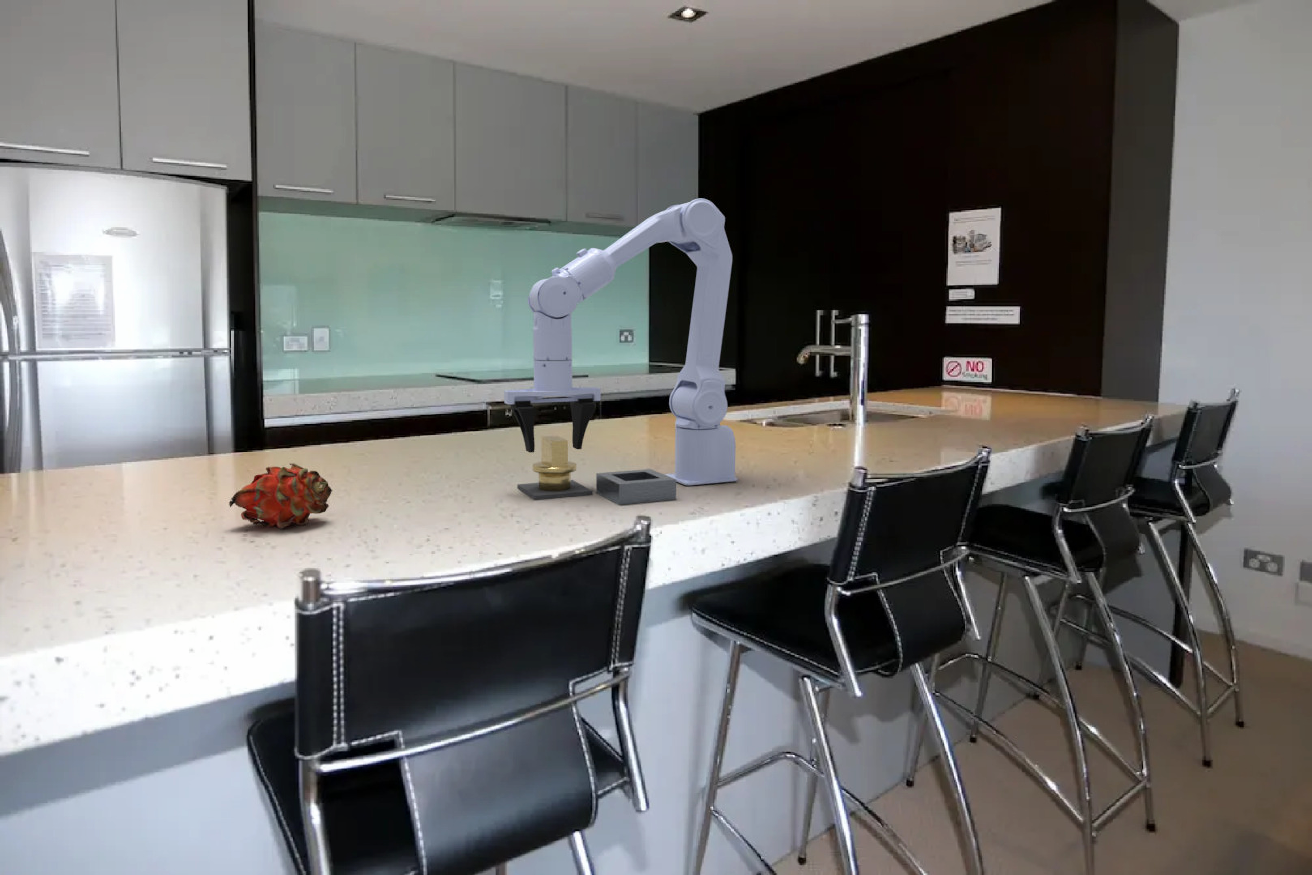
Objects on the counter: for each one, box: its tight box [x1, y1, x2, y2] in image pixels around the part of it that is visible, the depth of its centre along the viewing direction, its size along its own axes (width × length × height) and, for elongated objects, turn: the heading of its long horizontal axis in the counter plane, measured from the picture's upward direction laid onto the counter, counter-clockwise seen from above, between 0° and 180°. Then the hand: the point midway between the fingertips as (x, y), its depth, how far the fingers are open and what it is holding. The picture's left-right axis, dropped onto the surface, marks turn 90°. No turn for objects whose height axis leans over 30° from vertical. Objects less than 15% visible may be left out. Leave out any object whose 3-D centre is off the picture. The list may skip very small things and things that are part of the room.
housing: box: [595, 468, 677, 506], centre depth 125 cm, size 9×9×3 cm
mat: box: [517, 479, 594, 501], centre depth 129 cm, size 9×9×1 cm
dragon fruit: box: [228, 462, 333, 530], centre depth 107 cm, size 8×8×12 cm
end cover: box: [532, 435, 577, 491], centre depth 128 cm, size 7×7×8 cm
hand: (553, 449), depth 128 cm, fingers open, 7 cm apart
